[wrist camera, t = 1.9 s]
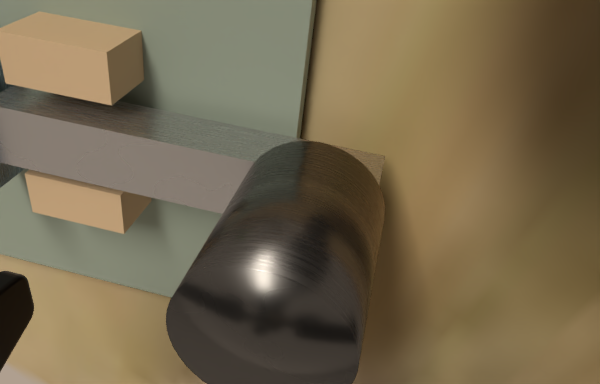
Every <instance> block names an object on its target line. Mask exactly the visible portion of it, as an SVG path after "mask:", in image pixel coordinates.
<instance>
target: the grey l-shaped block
mask: <svg viewBox="0 0 600 384" xmlns="http://www.w3.org/2000/svg"><path fill="white" fill-rule="evenodd" d="M384 159H385V156H381V155H376V154H371V153H367V152H362V151H357V150H352V149H347V148H342V147H338V146H333V145H328V144H324V143H320V142H313V141H309V140H304V139H299V138H294V137H289V136H285V135H280V134H275V133H270V132H265V131H260V130H256V129H251V128H246V127H241V126H236V125H232V124H227V123H222V122H217V121H212V120H207V119H203V118H198V117H193V116H188V115H183V114H178V113H174V112H169V111H164V110H159V109H154V108H150V107H145V106H140V105H135V104H130V103H125V102H121V101H117V102H116V103H114V104H113V105H107V104H102V103H97V102H92V101H88V100H83V99H78V98H73V97H68V96H64V95H59V94H54V93H49V92H45V91H40V90H35V89H30V88H25V87H21V86H16V85H11V84H6V83H5V78H4V74H3V69H2V64H1V60H0V188H1V187H2V186H3V185H5V184H6V183H7V182H9V181H10V180H11V179H12V178H14V177H15V176H16V175H18V174H19V173H20V172H21V171H23V170H24V169H29V170H34V171H38V172H42V173H47V174H51V175H55V176H60V177H64V178H68V179H73V180H77V181H82V182H86V183H90V184H95V185H99V186H103V187H108V188H112V189H116V190H121V191H125V192H129V193H134V194H138V195H142V196H147V197H151V198H155V199H160V200H164V201H168V202H173V203H177V204H181V205H186V206H190V207H195V208H199V209H203V210H208V211H212V212H216V213H221V214H222V215H221V217H220V219H219V220H218V222H217V224H216V225H215V227H214V229H213V230H212V232H211V234H210V235H209V237H208V239H207V240H206V242H205V243H204V245H203V247H202V248H201V250H200V252H199V253H198V255H197V257H196V258H195V260H194V262H193V263H192V265H191V267H190V268H189V270H188V272H187V273H186V275H185V276H184V278H183V280H182V281H181V283H180V285H179V286H178V288H177V290H176V291H175V293H174V295H173V296H172V298H171V300H170V302H169V305H168V309H167V313H166V325H167V331H168V335H169V338H170V341H171V343H172V345H173V347H174V349H175V351H176V352H177V354H178V355H179V357H180V358H181V360H182V361H183V362H184V363H185V365H186V366H187V367H188V368H189V369H190V370H191V371H192V372H193V373H194V374H195V375H197V376H198V377H199V378H200V379H201V380H202V381H204V382H205V383H207V384H352V383H353V381H354V379H355V377H356V374H357V371H358V365H359V360H360V354H361V348H362V342H363V337H364V331H365V325H366V320H367V314H368V308H369V303H370V297H371V291H372V285H373V280H374V274H375V268H376V263H377V257H378V251H379V245H380V240H381V234H382V228H383V223H384V216H385V203H384V197H383V194H382V191H381V188H380V186H379V184H380V179H381V174H382V169H383V164H384Z"/></svg>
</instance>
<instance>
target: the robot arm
mask: <svg viewBox="0 0 600 384" xmlns="http://www.w3.org/2000/svg"><path fill="white" fill-rule="evenodd" d="M33 311H34V303H33V299H32V295H31V291H30V287H29V283H28V280H27V278H26V277H25V276H24V275H21V274H17V273H13V272H9V271H2V272H0V371H1V370H2V368H3V366H4V364H5V363H6V361H7V359H8V358H9V356H10V354H11V352H12V351H13V349H14V347H15V346H16V344H17V342H18V340H19V339H20V337H21V335H22V334H23V332H24V330H25V328H26V327H27V325H28V323H29V321H30V320H31V318H32V315H33Z"/></svg>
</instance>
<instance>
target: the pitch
mask: <svg viewBox="0 0 600 384" xmlns="http://www.w3.org/2000/svg"><path fill="white" fill-rule="evenodd" d="M316 1H317V0H0V60H1V64H2V69H3V74H4V78H5V83H6V84H11V85H16V86H21V87H25V88H30V89H35V90H40V91H45V92H49V93H54V94H59V95H64V96H68V97H73V98H78V99H83V100H88V101H92V102H97V103H102V104H107V105H113V104H114V103H116V102H117V101H121V102H125V103H130V104H135V105H140V106H145V107H150V108H154V109H159V110H164V111H169V112H174V113H178V114H183V115H188V116H193V117H198V118H203V119H207V120H212V121H217V122H222V123H227V124H232V125H236V126H241V127H246V128H251V129H256V130H260V131H265V132H270V133H275V134H280V135H285V136H289V137H294V138H299V139H300V134H301V125H302V117H303V109H304V101H305V92H306V84H307V76H308V67H309V59H310V51H311V43H312V34H313V26H314V18H315V9H316ZM221 215H222V214H221V213H216V212H212V211H208V210H203V209H199V208H195V207H190V206H186V205H181V204H177V203H173V202H168V201H164V200H160V199H155V198H151V197H147V196H142V195H138V194H134V193H129V192H125V191H121V190H116V189H112V188H108V187H103V186H99V185H95V184H90V183H86V182H82V181H77V180H73V179H68V178H64V177H60V176H55V175H51V174H47V173H42V172H38V171H34V170H29V169H24V170H23V171H21V172H20V173H19V174H18V175H16V176H15V177H14V178H12V179H11V180H10V181H9V182H7V183H6V184H5V185H3V186H2V187H1V188H0V254H2V255H6V256H10V257H14V258H18V259H22V260H26V261H30V262H34V263H38V264H41V265H45V266H49V267H53V268H57V269H61V270H65V271H69V272H73V273H77V274H81V275H85V276H89V277H93V278H97V279H100V280H104V281H108V282H112V283H116V284H120V285H124V286H128V287H132V288H136V289H140V290H144V291H148V292H152V293H156V294H159V295H163V296H167V297H171V298H172V296H173V295H174V293H175V291H176V290H177V288H178V286H179V285H180V283H181V281H182V280H183V278H184V276H185V275H186V273H187V272H188V270H189V268H190V267H191V265H192V263H193V262H194V260H195V258H196V257H197V255H198V253H199V252H200V250H201V248H202V247H203V245H204V243H205V242H206V240H207V239H208V237H209V235H210V234H211V232H212V230H213V229H214V227H215V225H216V224H217V222H218V220H219V219H220V217H221Z"/></svg>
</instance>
